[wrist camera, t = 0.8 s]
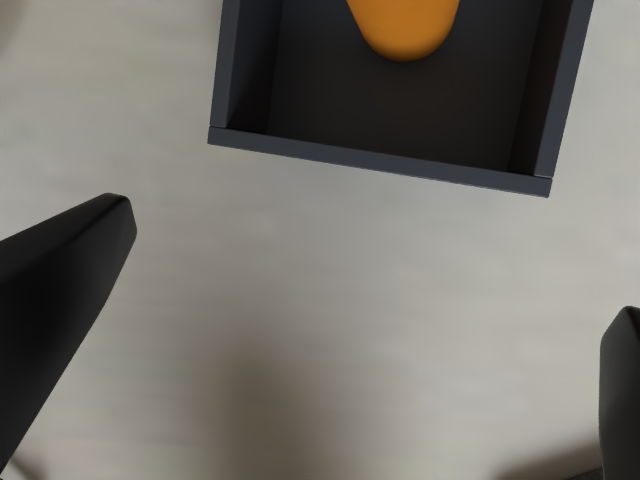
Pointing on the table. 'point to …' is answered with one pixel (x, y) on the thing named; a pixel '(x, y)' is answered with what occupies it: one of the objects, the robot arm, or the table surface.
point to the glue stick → (404, 26)
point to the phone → (591, 476)
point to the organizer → (402, 90)
